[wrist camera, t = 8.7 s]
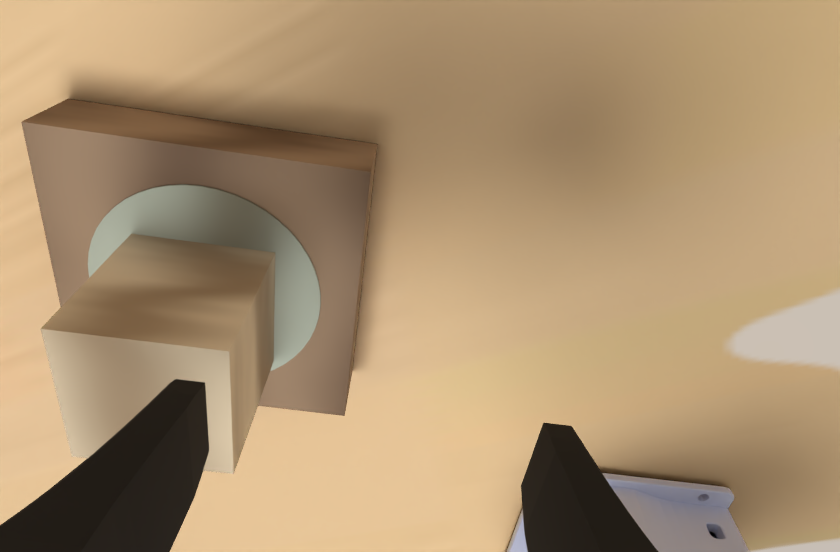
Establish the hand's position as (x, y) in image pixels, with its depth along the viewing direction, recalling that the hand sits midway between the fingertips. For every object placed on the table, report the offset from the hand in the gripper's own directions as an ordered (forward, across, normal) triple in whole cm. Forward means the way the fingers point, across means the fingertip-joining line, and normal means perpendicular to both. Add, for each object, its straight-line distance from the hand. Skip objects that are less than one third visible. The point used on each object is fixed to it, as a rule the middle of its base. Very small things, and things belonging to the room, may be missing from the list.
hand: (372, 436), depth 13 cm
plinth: (+10, +6, +2) cm, 12 cm away
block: (+7, +6, +2) cm, 10 cm away
